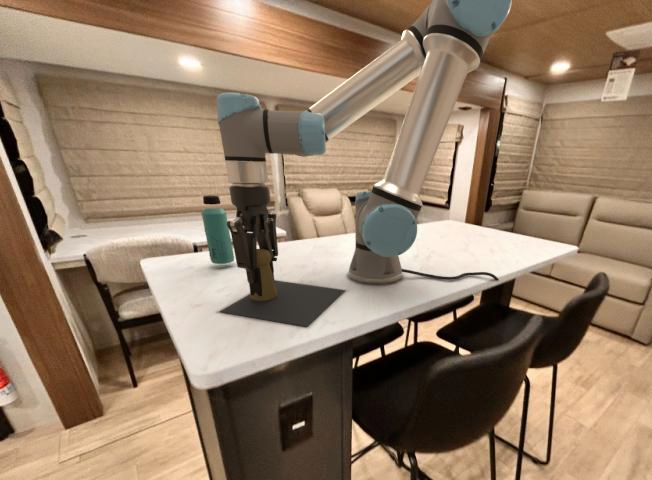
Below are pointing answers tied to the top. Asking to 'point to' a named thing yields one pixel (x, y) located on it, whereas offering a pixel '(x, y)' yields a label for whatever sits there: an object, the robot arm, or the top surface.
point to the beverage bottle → (217, 232)
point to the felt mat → (288, 304)
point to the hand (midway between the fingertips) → (263, 291)
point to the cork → (265, 277)
